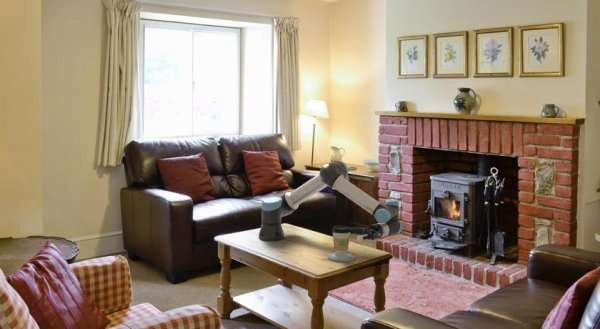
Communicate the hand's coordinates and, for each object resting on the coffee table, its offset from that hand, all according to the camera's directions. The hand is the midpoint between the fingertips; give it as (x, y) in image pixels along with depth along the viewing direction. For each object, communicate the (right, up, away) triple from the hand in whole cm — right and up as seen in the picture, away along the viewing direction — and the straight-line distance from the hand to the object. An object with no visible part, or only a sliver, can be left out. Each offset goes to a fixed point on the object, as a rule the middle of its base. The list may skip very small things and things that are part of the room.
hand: (348, 235), depth 305 cm
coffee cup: (-4, -10, -1) cm, 11 cm away
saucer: (-4, -11, -1) cm, 12 cm away
